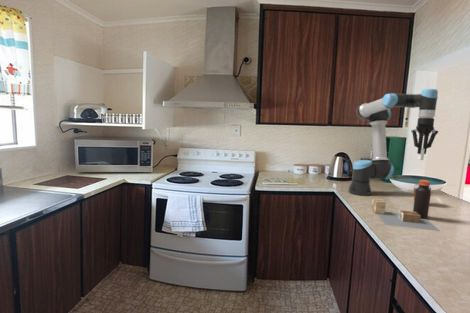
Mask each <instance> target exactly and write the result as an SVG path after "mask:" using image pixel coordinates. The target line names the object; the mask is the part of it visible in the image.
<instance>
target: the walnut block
mask: <svg viewBox="0 0 470 313" xmlns="http://www.w3.org/2000/svg"><path fill="white" fill-rule="evenodd" d="M398 213H399V218H400V220H401V221H404V222H413V223H420V217H421V216H420V215H419V214H418V213H417V212H413V210H411V211H409V210H401V209H399V210H398Z"/></svg>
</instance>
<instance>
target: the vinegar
mask: <svg viewBox="0 0 470 313" xmlns="http://www.w3.org/2000/svg"><path fill="white" fill-rule="evenodd" d="M418 184H419V187H418V188H417V189H416V192H415V200H414V199H413V209H412V212H417V213H418V214H419V215H420V216H421V217H420V218H421V219H428V216H429V209H430V203H431V195H432V189H431V190H430V189H429V186H430V185H431V181H429V180H425V179H420V180H419V179H418ZM430 187H431V186H430Z"/></svg>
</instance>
